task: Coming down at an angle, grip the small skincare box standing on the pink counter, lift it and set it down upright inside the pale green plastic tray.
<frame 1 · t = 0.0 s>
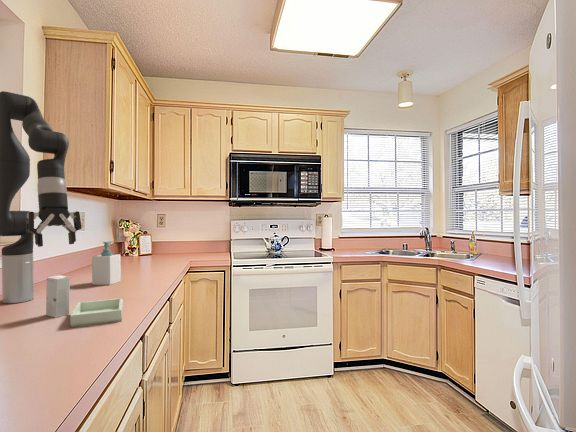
hand: (56, 245, 108), 22 cm above the worktop, tool pointing down, fingers open, 8 cm apart
soap bottle: (107, 283, 161), on the worktop
tray: (99, 316, 109), on the worktop
skincare box: (58, 315, 111), on the worktop
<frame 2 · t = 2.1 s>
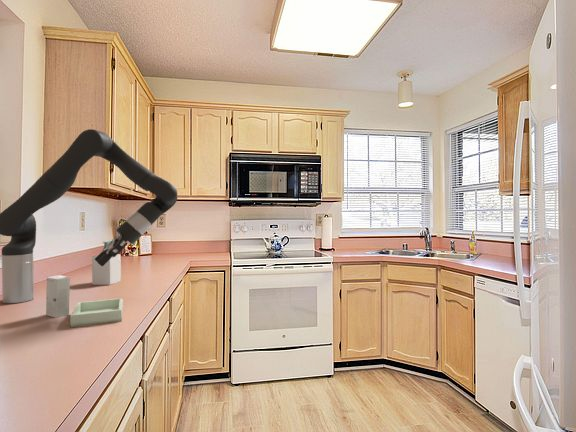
hand: (98, 262, 117), 15 cm above the worktop, tool tilted 45°, fingers open, 8 cm apart
nothing on the worktop moved.
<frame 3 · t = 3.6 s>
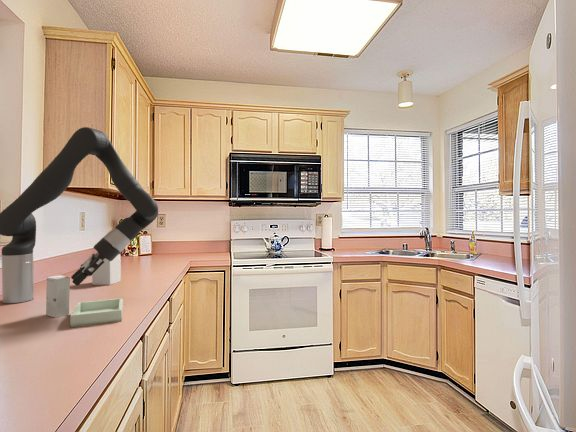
hand: (73, 281, 113), 10 cm above the worktop, tool tilted 45°, fingers open, 8 cm apart
nothing on the worktop moved.
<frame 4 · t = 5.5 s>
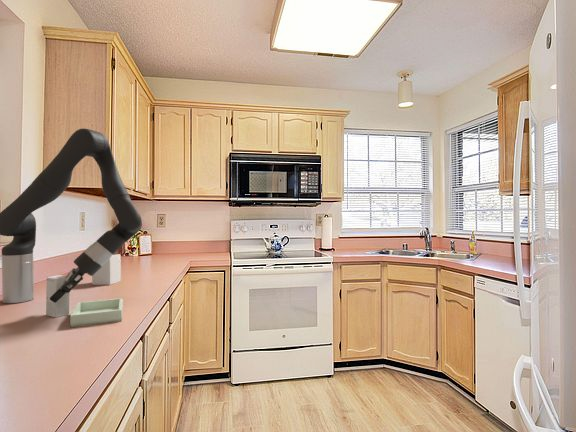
hand: (52, 298, 110), 5 cm above the worktop, tool tilted 45°, fingers closed on skincare box, 7 cm apart
skincare box: (58, 315, 111), on the worktop, touching gripper
everything else where it was.
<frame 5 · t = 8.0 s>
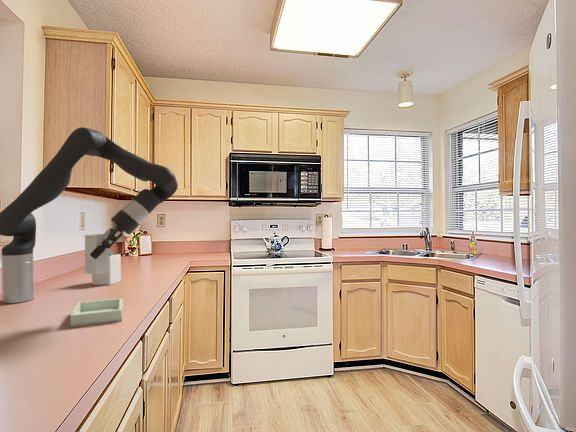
hand: (91, 255, 108), 19 cm above the worktop, tool tilted 45°, fingers closed on skincare box, 7 cm apart
skincare box: (97, 273, 109), point 13 cm above the worktop, touching gripper
everything else where it was.
when the fingers open (7 cm above the worktop, at t = 10.8 s): skincare box drops 1 cm, resting on tray.
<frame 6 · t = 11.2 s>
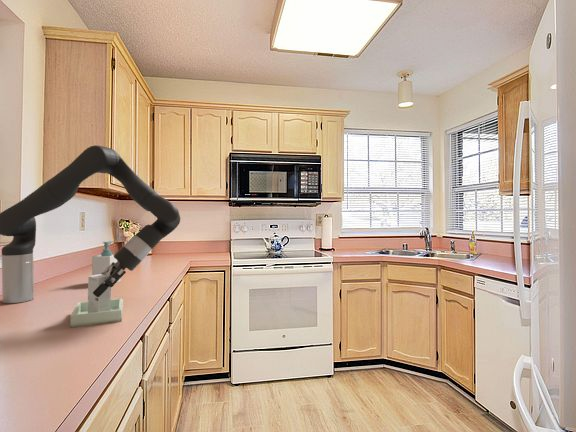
hand: (93, 292, 108), 8 cm above the worktop, tool tilted 45°, fingers open, 8 cm apart
skincare box: (99, 315, 109), resting on tray
everything else where it was.
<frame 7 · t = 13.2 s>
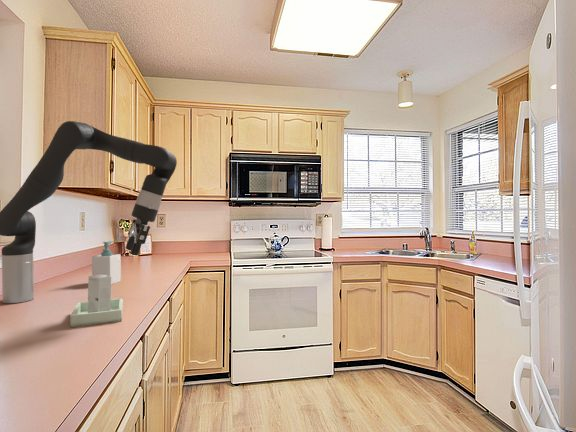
hand: (131, 252, 116), 19 cm above the worktop, tool tilted 20°, fingers open, 8 cm apart
nothing on the worktop moved.
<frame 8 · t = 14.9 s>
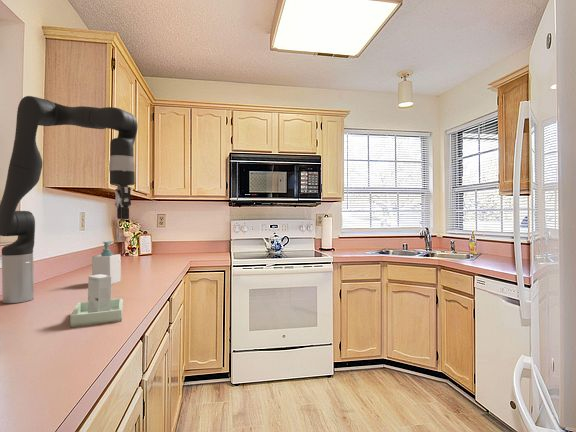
hand: (123, 219, 117), 30 cm above the worktop, tool pointing down, fingers open, 8 cm apart
nothing on the worktop moved.
at the end: skincare box inside the target area on the tray (0.2 cm from its centre), point 0.4 cm above the tray's base; skincare box tilted 0°; the gripper is holding nothing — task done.
